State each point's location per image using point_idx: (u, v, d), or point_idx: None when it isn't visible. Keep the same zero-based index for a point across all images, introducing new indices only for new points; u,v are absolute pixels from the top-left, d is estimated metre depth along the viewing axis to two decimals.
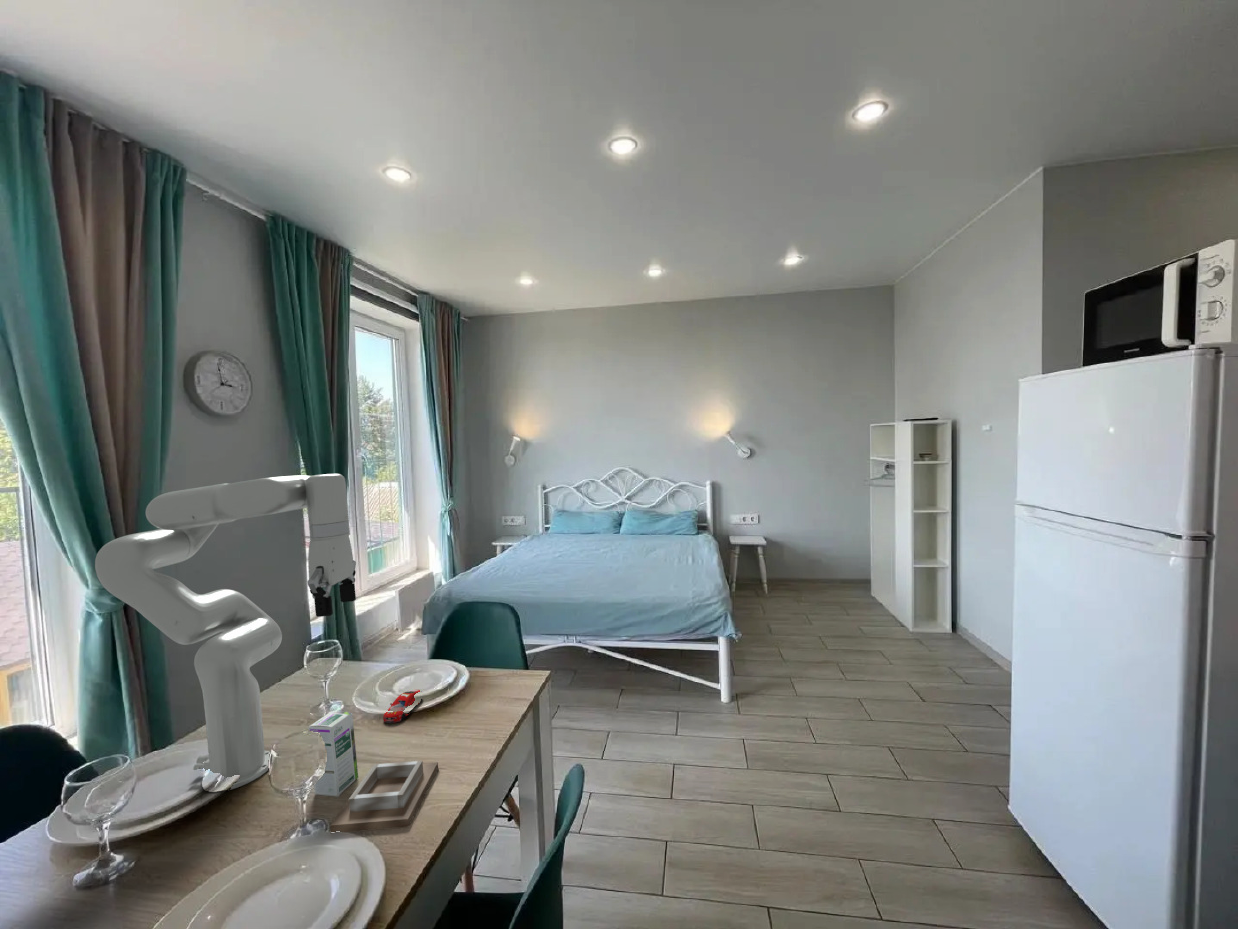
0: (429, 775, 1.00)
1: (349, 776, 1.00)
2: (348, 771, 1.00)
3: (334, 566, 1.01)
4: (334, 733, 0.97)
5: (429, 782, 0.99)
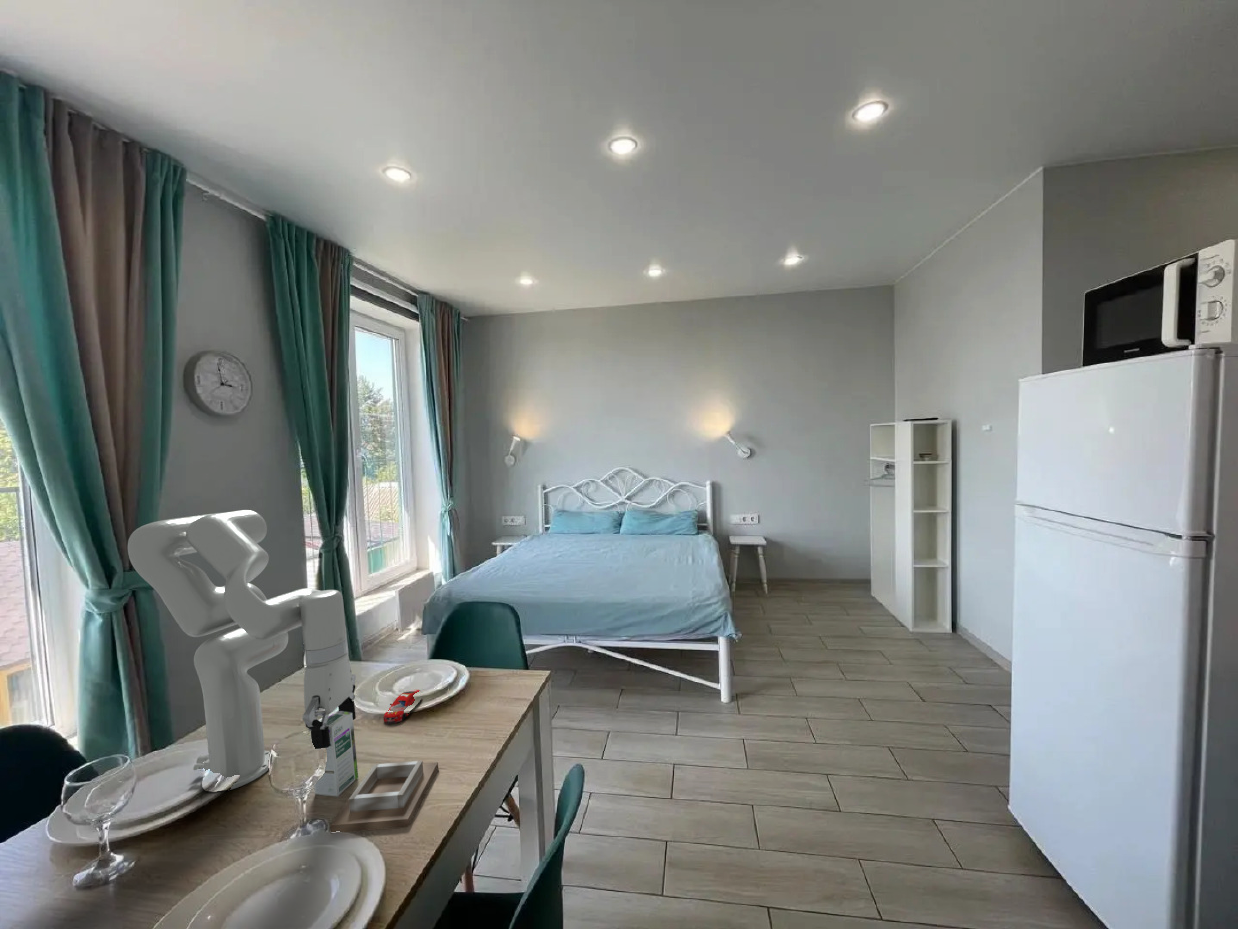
0: (429, 775, 1.00)
1: (349, 776, 1.00)
2: (348, 771, 1.00)
3: (331, 693, 0.96)
4: (334, 733, 0.97)
5: (429, 782, 0.99)
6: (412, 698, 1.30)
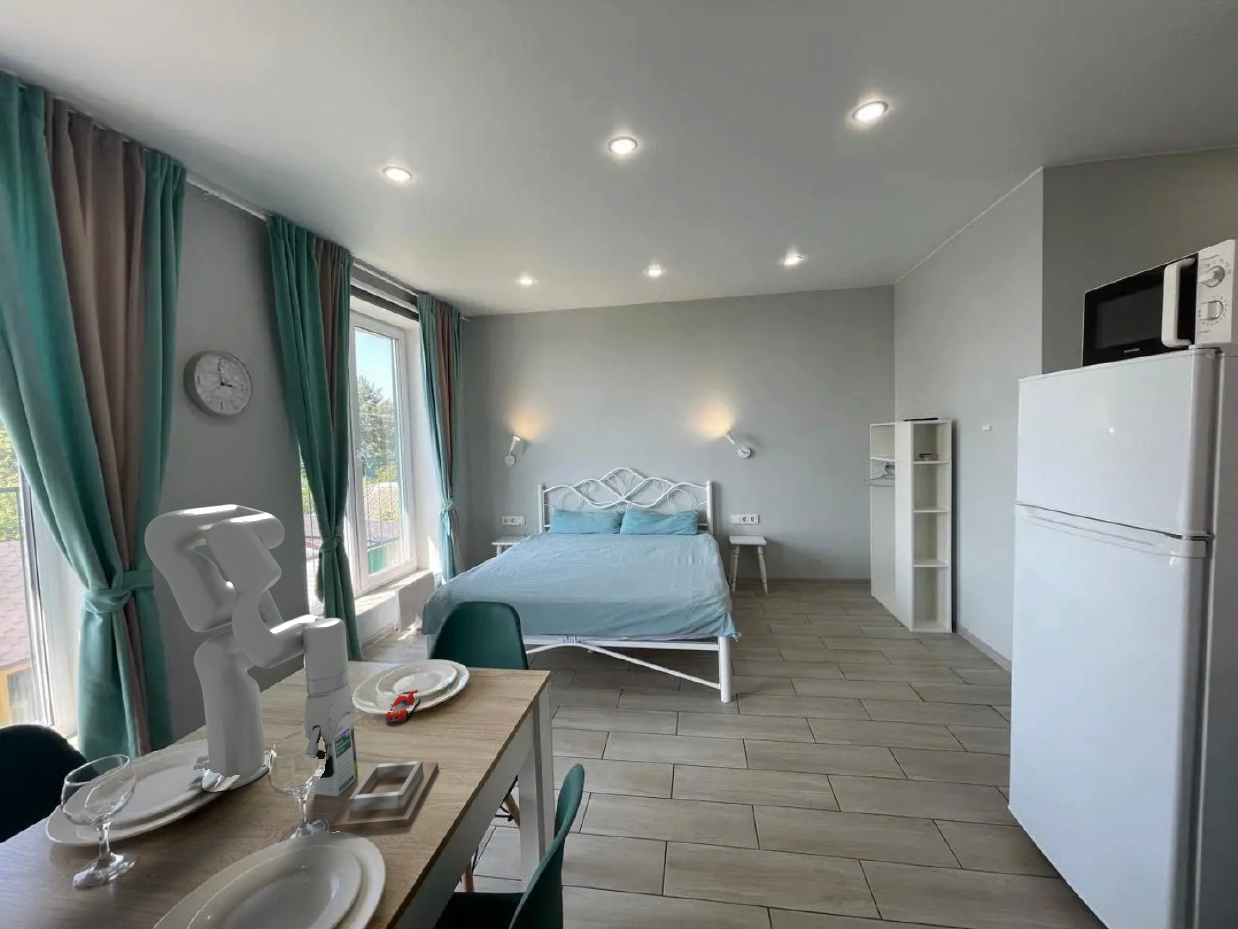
0: (429, 775, 1.00)
1: (349, 776, 1.00)
2: (348, 771, 1.00)
3: (331, 723, 0.96)
4: None
5: (429, 782, 0.99)
6: (412, 698, 1.30)
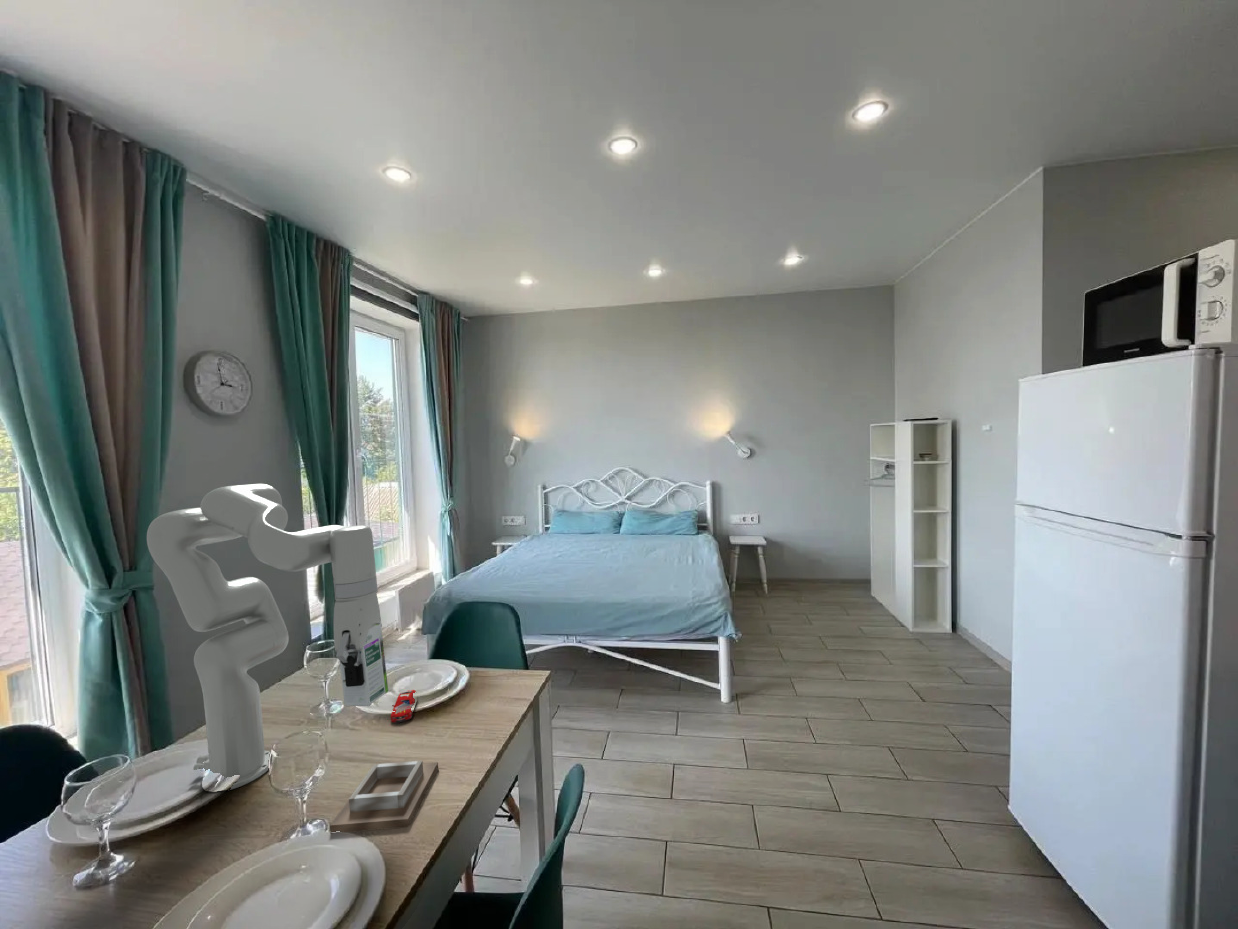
0: (429, 775, 1.00)
1: (380, 688, 0.96)
2: (378, 682, 0.96)
3: (361, 629, 0.92)
4: None
5: (429, 782, 0.99)
6: None
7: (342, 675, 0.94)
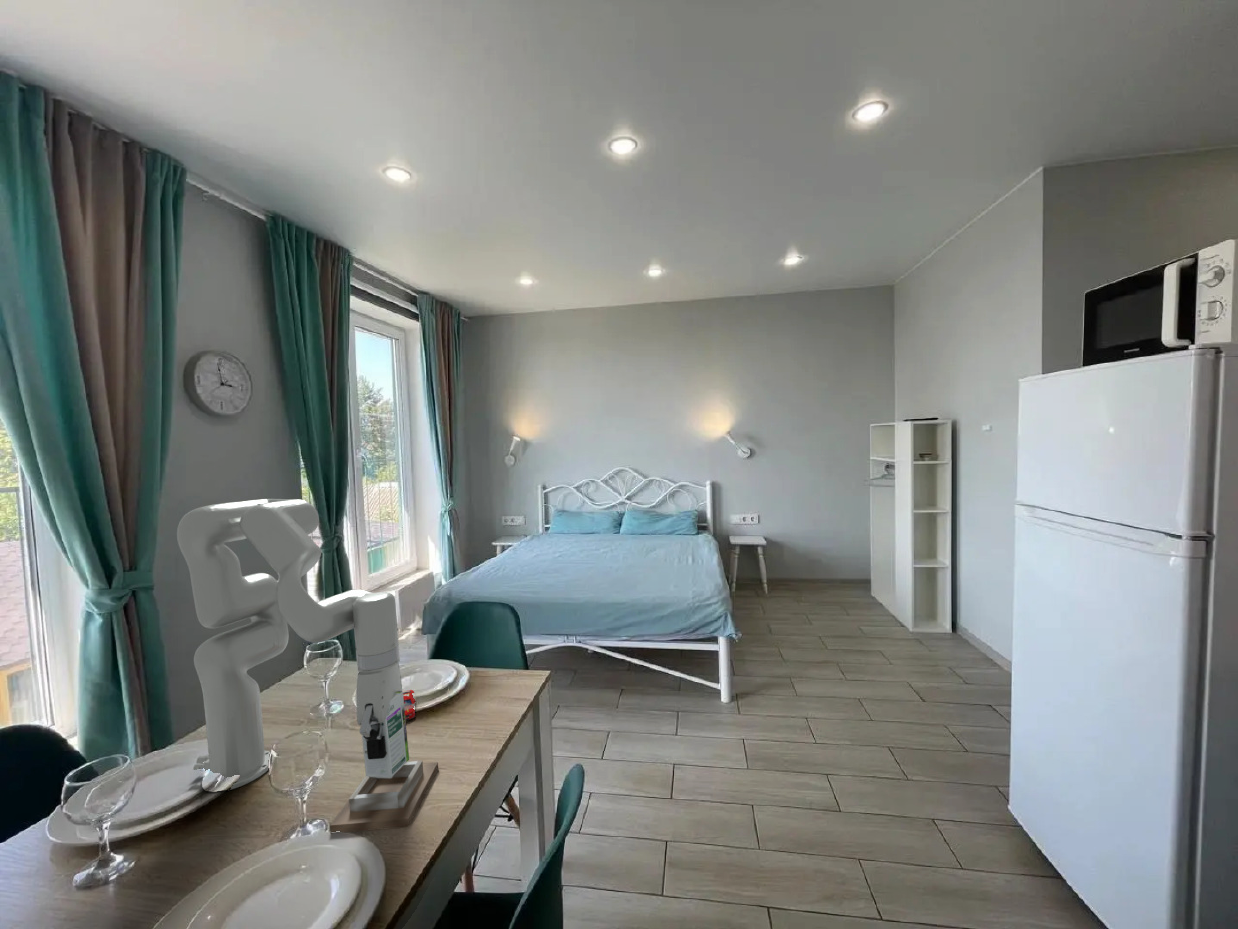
0: (429, 775, 1.00)
1: (401, 758, 0.95)
2: (400, 752, 0.95)
3: (384, 701, 0.91)
4: (387, 712, 0.92)
5: (429, 782, 0.99)
6: None
7: (364, 746, 0.93)
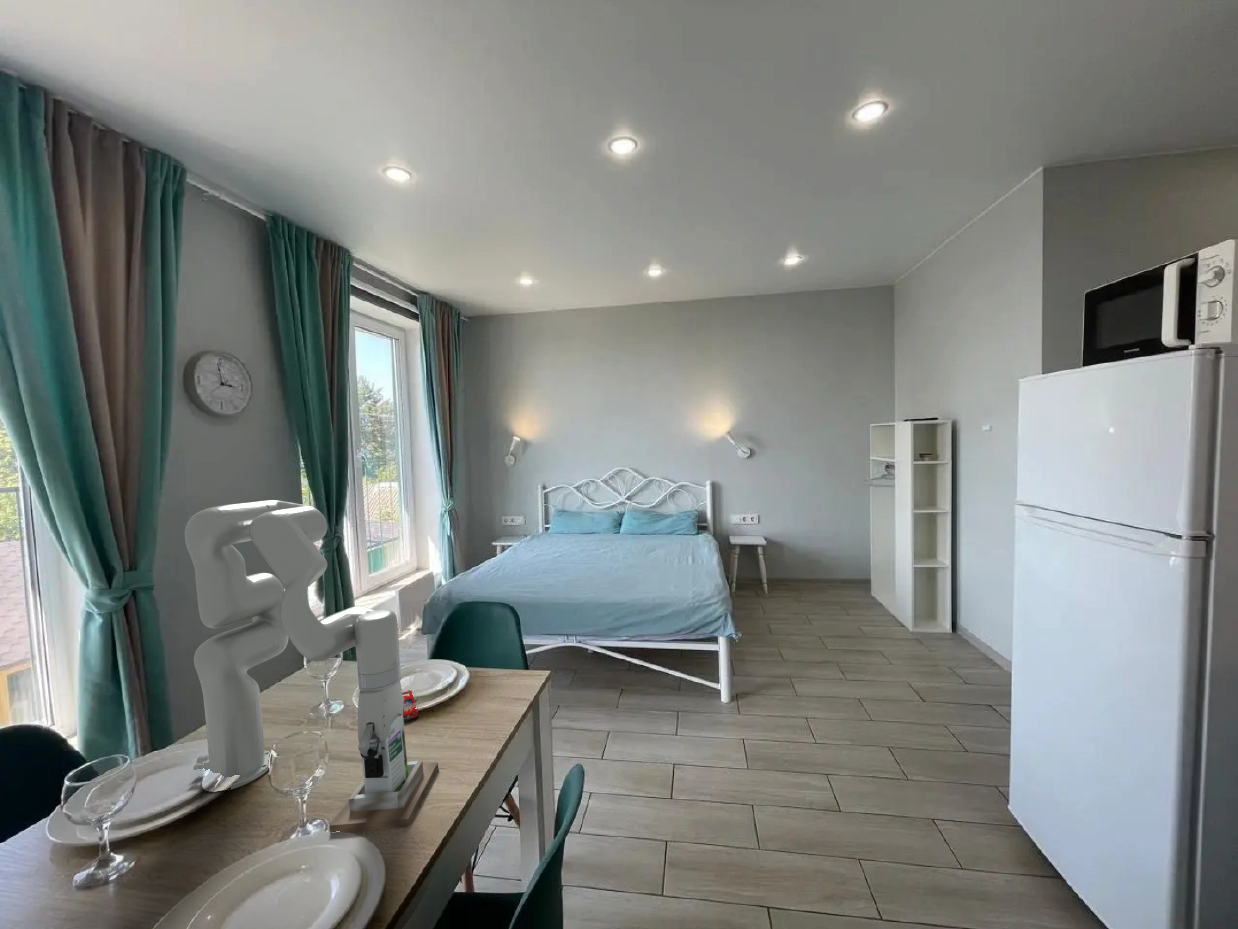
0: (429, 775, 1.00)
1: (401, 781, 0.95)
2: (400, 775, 0.95)
3: (385, 720, 0.91)
4: (388, 735, 0.92)
5: (429, 782, 0.99)
6: None
7: (364, 770, 0.93)
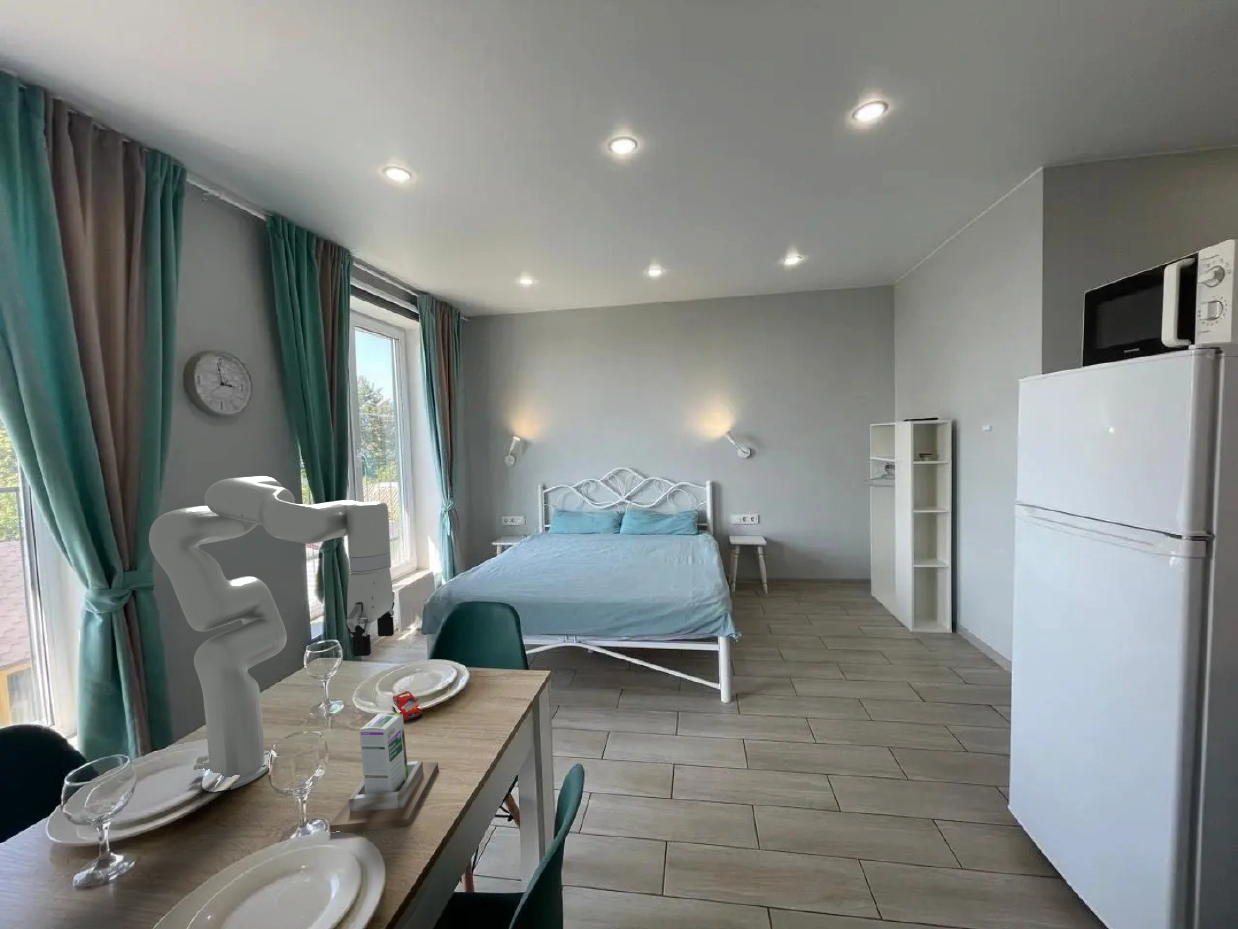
0: (429, 775, 1.00)
1: (401, 781, 0.95)
2: (400, 775, 0.95)
3: (373, 602, 0.94)
4: (388, 735, 0.92)
5: (429, 782, 0.99)
6: (412, 695, 1.31)
7: (364, 770, 0.93)
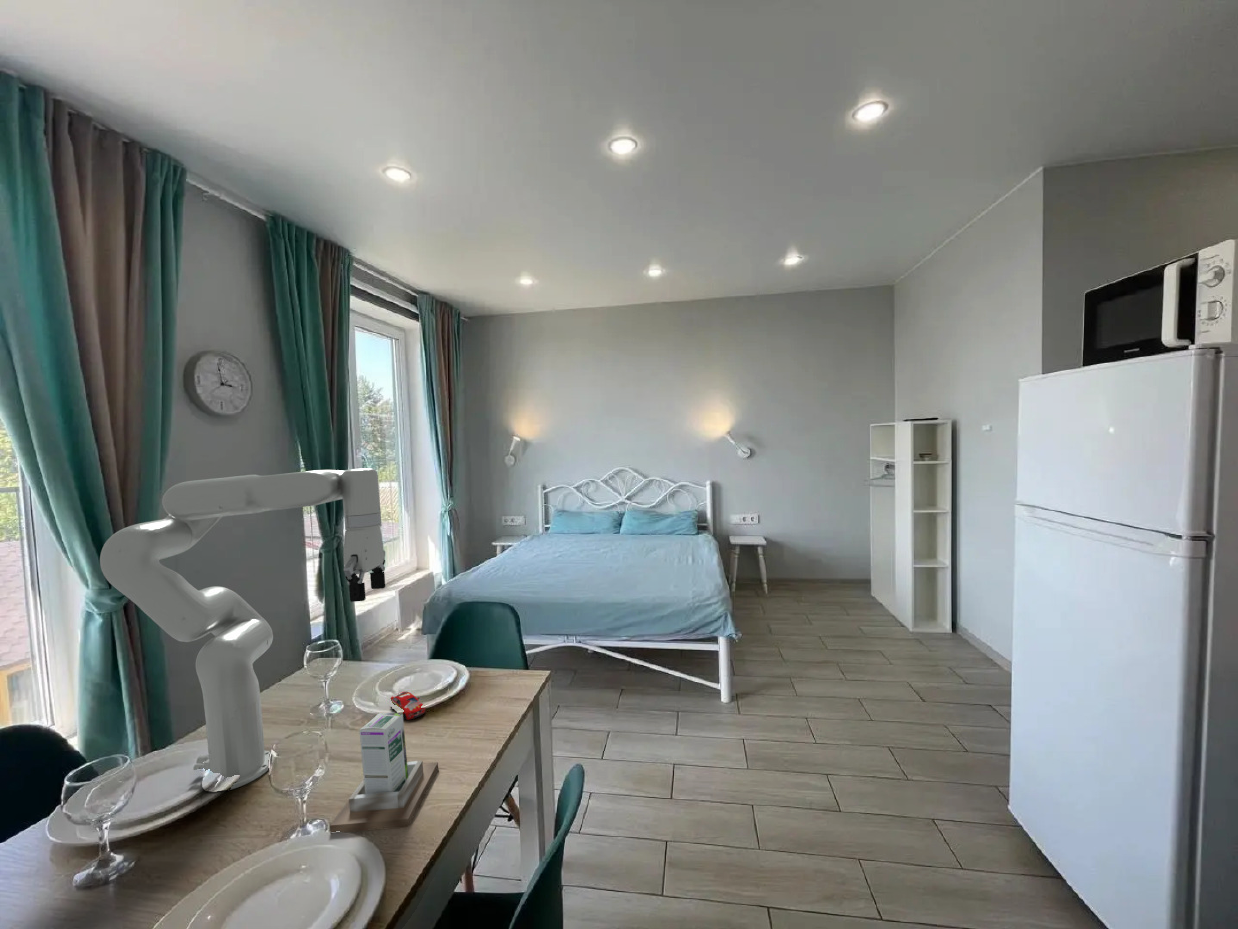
0: (429, 775, 1.00)
1: (401, 781, 0.95)
2: (400, 775, 0.95)
3: (367, 554, 1.08)
4: (388, 735, 0.92)
5: (429, 782, 0.99)
6: None
7: (364, 770, 0.93)
